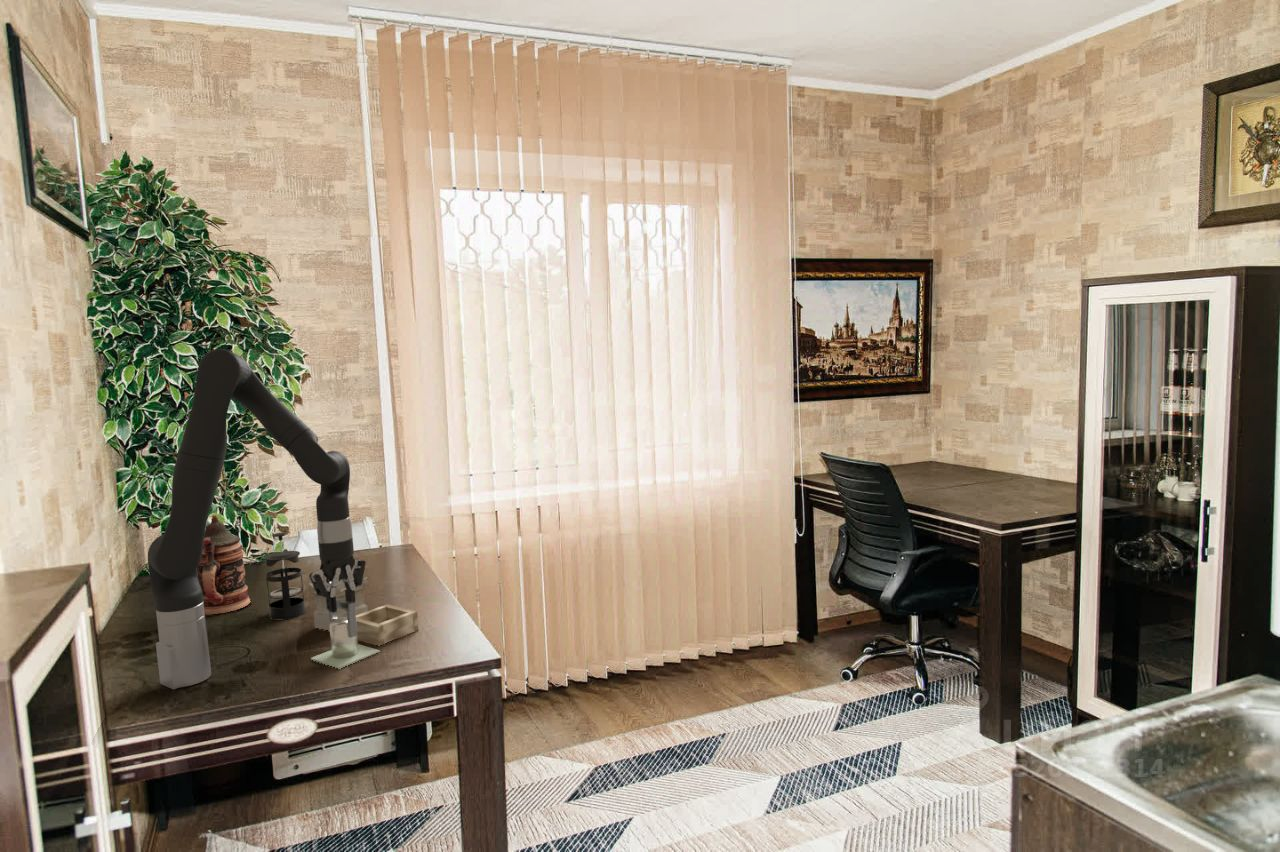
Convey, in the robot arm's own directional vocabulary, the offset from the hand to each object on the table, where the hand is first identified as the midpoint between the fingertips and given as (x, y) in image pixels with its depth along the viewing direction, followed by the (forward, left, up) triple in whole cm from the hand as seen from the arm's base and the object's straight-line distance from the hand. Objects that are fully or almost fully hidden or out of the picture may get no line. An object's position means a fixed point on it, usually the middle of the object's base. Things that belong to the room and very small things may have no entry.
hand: (341, 608), depth 186 cm
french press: (+11, +42, -12) cm, 45 cm away
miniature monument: (+13, +20, -12) cm, 27 cm away
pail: (0, 0, -11) cm, 11 cm away
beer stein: (+4, +64, -12) cm, 65 cm away
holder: (+14, +4, -12) cm, 19 cm away
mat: (0, 0, -12) cm, 12 cm away
